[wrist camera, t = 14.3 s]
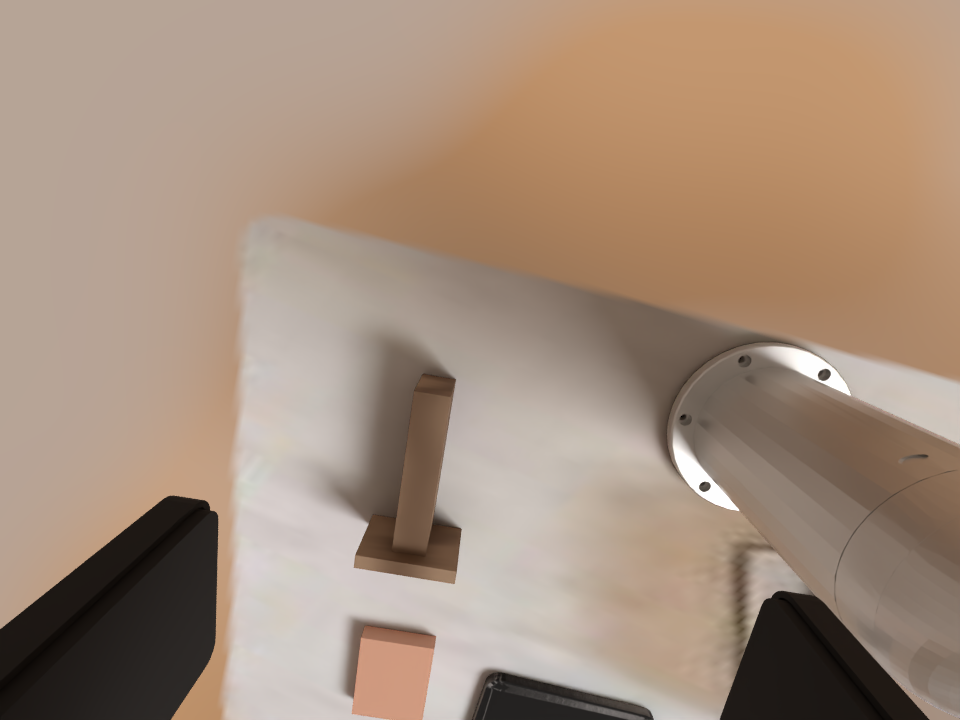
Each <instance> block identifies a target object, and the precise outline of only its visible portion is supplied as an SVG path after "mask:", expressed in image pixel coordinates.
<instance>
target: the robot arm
mask: <svg viewBox="0 0 960 720" xmlns="http://www.w3.org/2000/svg"><path fill="white" fill-rule="evenodd" d="M740 357H741V360H740V361H738V360H739V358H740ZM683 414H684V416H683V417H682V418H680V417H681V416H682V415H683ZM667 441H668V449H669V453H670V456H671V459H672V462H673V464H674V466H675V468H676V469H677V471H678V473H679V475H680V476H681V477H682V478H683V480H684V481H685V482H686V484H687V485H688V486H689V487H690V488H691V489H692V490H693V491H694V492H695V493H696V494H698V495H699V496H700V497H702V498H704V499H705V500H707V501H709V502H710V503H712V504H715V505H718V506H720V507H723V508H726V509H730V510H737V511H740V512H741V513H742V514H743V515H744V516H745V517H746V518H747V519H748V521H749V522H750V523H751V524H752V525H753V526H754V527H755V528H756V530H757V531H758V532H759V533H760V534H761V535H762V536H763V537H764V538H765V540H766V541H767V542H768V543H769V544H770V545H771V546H772V547H773V549H774V550H775V551H776V552H777V553H778V554H779V555H780V556H781V557H782V559H783V560H784V561H785V562H786V563H787V564H788V565H789V566H790V568H791V569H792V570H793V571H794V572H795V573H796V574H797V575H798V576H799V578H800V579H801V580H802V581H803V582H804V583H805V584H806V585H807V587H808V588H809V589H810V590H811V591H812V592H813V593H814V594H815V595H816V597H815V596H812V595H805V594H799V593H792V592H786V591H777V592H776V593H775V594H773V596H772V598H769V599H766V600H765V601H764V602H763V604H762V606H761V609H760V611H759V614H758V617H757V620H756V622H755V625H754V628H753V630H752V633H751V636H750V639H749V641H748V644H747V647H746V649H745V652H744V655H743V658H742V660H741V663H740V666H739V668H738V671H737V674H736V677H735V679H734V682H733V685H732V687H731V690H730V693H729V696H728V698H727V701H726V704H725V706H724V709H723V712H722V714H721V718H720V720H929V719H928V718H927V717H926V716H925V714H924V713H923V712H922V711H921V710H920V709H919V708H918V707H917V705H916V704H915V703H914V702H913V701H912V700H911V699H910V698H909V697H908V695H907V694H906V693H905V692H904V691H903V690H902V689H901V688H900V687H899V685H898V684H896V682H895V681H894V680H893V679H892V678H891V677H893V678H894V679H895V680H896V681H897V682H899V683H900V684H901V685H902V686H904V687H905V688H906V689H908V690H909V691H910V692H912V693H913V694H915V695H917V696H918V697H920V698H921V699H923V700H924V701H926V702H928V703H929V704H931V705H933V706H934V707H936V708H938V709H940V710H942V711H945V712H947V713H949V714H951V715H953V716H956V717H958V718H960V444H957V443H955V442H953V441H951V440H948V439H946V438H944V437H942V436H940V435H937V434H935V433H933V432H931V431H928V430H926V429H924V428H922V427H919V426H917V425H915V424H913V423H911V422H908V421H906V420H904V419H902V418H899V417H897V416H895V415H893V414H891V413H888V412H886V411H884V410H882V409H879V408H877V407H875V406H873V405H870V404H868V403H866V402H864V401H862V400H859V399H857V398H855V397H853V396H852V395H851V393H850V391H849V389H848V386H847V384H846V382H845V380H844V379H843V378H842V376H841V375H840V374H839V372H838V371H837V370H836V369H835V368H834V367H833V366H832V365H831V364H829V363H828V362H827V361H826V360H825V359H823V358H822V357H820V356H818V355H816V354H814V353H812V352H810V351H808V350H805V349H802V348H799V347H796V346H794V345H789V344H783V343H777V342H760V343H753V344H748V345H743V346H739V347H736V348H734V349H731V350H728V351H726V352H723V353H721V354H720V355H718V356H716V357H715V358H713V359H711V360H710V361H708V362H707V363H705V364H704V365H703V366H702V367H701V368H700V369H698V370H697V371H696V372H695V373H694V374H693V375H692V376H691V377H690V378H689V380H688V381H687V382H686V383H685V384H684V386H683V387H682V389H681V390H680V392H679V394H678V396H677V397H676V399H675V401H674V403H673V406H672V409H671V412H670V415H669V420H668V427H667ZM217 551H218V515H217V513H216V512H215V511H210V506H209V504H208V502H206V501H205V500H198V499H192V498H185V497H179V496H168V497H166V498H164V499H163V500H162V501H160V502H159V503H158V504H157V505H155V506H154V507H153V508H152V509H150V510H149V511H148V512H147V513H145V514H144V515H143V516H142V517H140V518H139V519H138V520H137V521H135V522H134V523H133V524H132V525H130V526H129V527H128V528H127V529H125V530H124V531H123V532H122V533H120V534H119V535H118V536H116V537H115V538H114V539H113V540H111V541H110V542H109V543H108V544H107V545H105V546H104V547H103V548H101V549H100V550H99V551H98V552H96V553H95V554H94V555H93V556H91V557H90V558H89V559H88V560H86V561H85V562H84V563H83V564H81V565H80V566H79V567H78V568H77V569H75V570H74V571H73V572H71V573H70V574H69V575H68V576H66V577H65V578H64V579H63V580H61V581H60V582H59V583H58V584H56V585H55V586H54V587H53V588H51V589H50V590H49V591H48V592H46V593H45V594H44V595H43V596H41V597H40V598H39V599H38V600H36V601H35V602H34V603H33V604H31V605H30V606H29V607H28V608H26V609H25V610H24V611H23V612H21V613H20V614H19V615H18V616H16V617H15V618H14V619H13V620H11V621H10V622H9V623H8V624H6V625H5V626H4V627H3V628H1V629H0V720H171V718H172V717H173V715H174V714H175V712H176V711H177V709H178V708H179V706H180V705H181V703H182V702H183V700H184V699H185V697H186V696H187V694H188V693H189V691H190V690H191V688H192V687H193V685H194V684H195V682H196V681H197V679H198V678H199V676H200V675H201V673H202V672H203V670H204V669H205V667H206V665H207V664H208V662H209V660H210V658H211V655H212V652H213V649H214V645H215V636H216V595H217V593H216V592H217V591H216V590H217V553H218V552H217ZM890 676H891V677H890Z"/></svg>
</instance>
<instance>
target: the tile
mask: <svg viewBox="0 0 960 720" xmlns="http://www.w3.org/2000/svg"><path fill="white" fill-rule="evenodd" d="M435 640H436V636H430V635H423V634H417V633H411V632H404V631H398V630H391V629H385V628H378V627H372V626H365V627H364V630H363V633H362V636H361V642H360V650H359V659H358V667H357V675H356V684H355V692H354V700H353V708H352V714H356V715H363V716H370V717H376V718H383V719H390V720H422V718H423V712H424V707H425V701H426V695H427V689H428V683H429V677H430V671H431V665H432V659H433V653H434V647H435Z"/></svg>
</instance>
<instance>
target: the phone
mask: <svg viewBox="0 0 960 720" xmlns="http://www.w3.org/2000/svg"><path fill="white" fill-rule="evenodd" d="M472 720H654V719H653V716H652V714H651V712H650V711H649V710H648V709H646V708H643V707H639V706H635V705H631V704H627V703H623V702H619V701H614V700H610V699H606V698H602V697H598V696H594V695H590V694H586V693H582V692H578V691H574V690H570V689H566V688H562V687H558V686H553V685H549V684H545V683H541V682H537V681H533V680H529V679H525V678H521V677H517V676H513V675H509V674H505V673H493V674H491V675H490V676H488V677H487V679H486V681H485V684H484V687H483V690H482V693H481V696H480V698H479V701H478V704H477V707H476V710H475V713H474V716H473V718H472Z"/></svg>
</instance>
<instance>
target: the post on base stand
mask: <svg viewBox="0 0 960 720" xmlns="http://www.w3.org/2000/svg"><path fill="white" fill-rule="evenodd" d="M455 382H456V379H450V378H444V377H438V376H432V375H426V374H423V375H422V377H421V379H420V380H419V382H418V384H417V386H416V388H415V390H414V395H413V402H412V409H411V416H410V423H409V431H408V438H407V445H406V452H405V459H404V467H403V474H402V481H401V488H400V495H399V502H398V510H397V517H396V518H391V517H385V516H379V515H373V516H372V518H371V520H370V523H369V525H368V527H367V529H366V532H365V534H364V536H363V539H362V541H361V543H360V546H359V548H358V550H357V552H356V555H355V562H354V568H359V569H365V570H372V571H378V572H384V573H390V574H396V575H402V576H408V577H415V578H421V579H427V580H433V581H439V582H445V583H451V584H455V578H456V573H457V564H458V555H459V547H460V538H461V529H459V528H453V527H447V526H440V525H434V524H433V518H434V512H435V505H436V499H437V493H438V487H439V481H440V474H441V468H442V462H443V456H444V450H445V443H446V437H447V431H448V425H449V419H450V412H451V406H452V400H453V394H454V388H455Z"/></svg>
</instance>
